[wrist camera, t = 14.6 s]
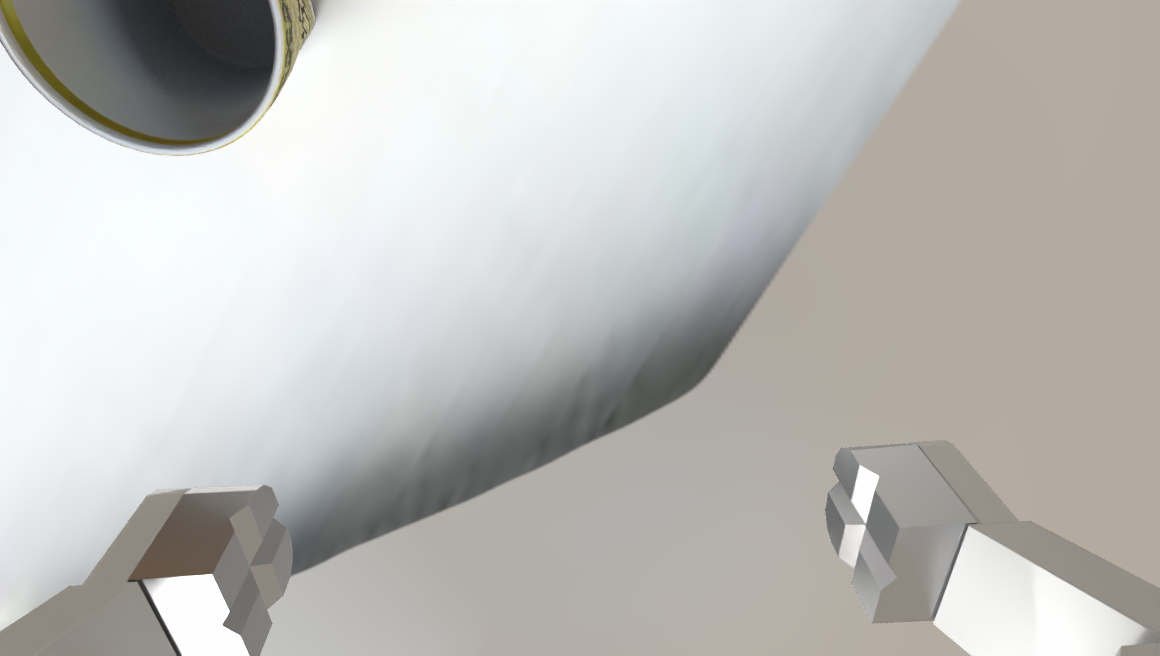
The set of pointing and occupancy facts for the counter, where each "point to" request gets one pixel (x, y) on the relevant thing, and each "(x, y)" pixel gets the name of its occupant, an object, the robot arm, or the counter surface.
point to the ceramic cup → (158, 64)
